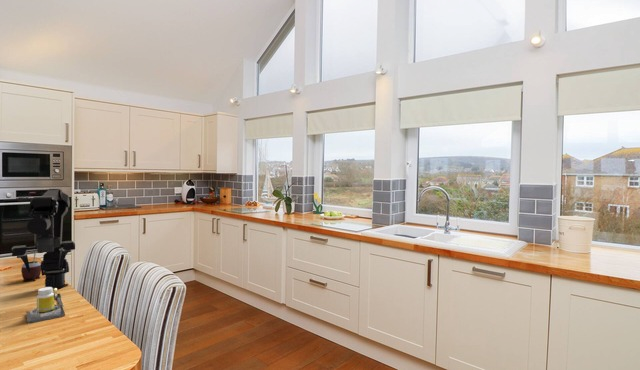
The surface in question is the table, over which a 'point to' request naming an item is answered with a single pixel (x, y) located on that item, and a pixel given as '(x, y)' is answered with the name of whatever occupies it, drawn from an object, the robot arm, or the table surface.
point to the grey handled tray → (58, 312)
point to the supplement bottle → (45, 300)
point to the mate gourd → (31, 270)
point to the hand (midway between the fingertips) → (44, 270)
